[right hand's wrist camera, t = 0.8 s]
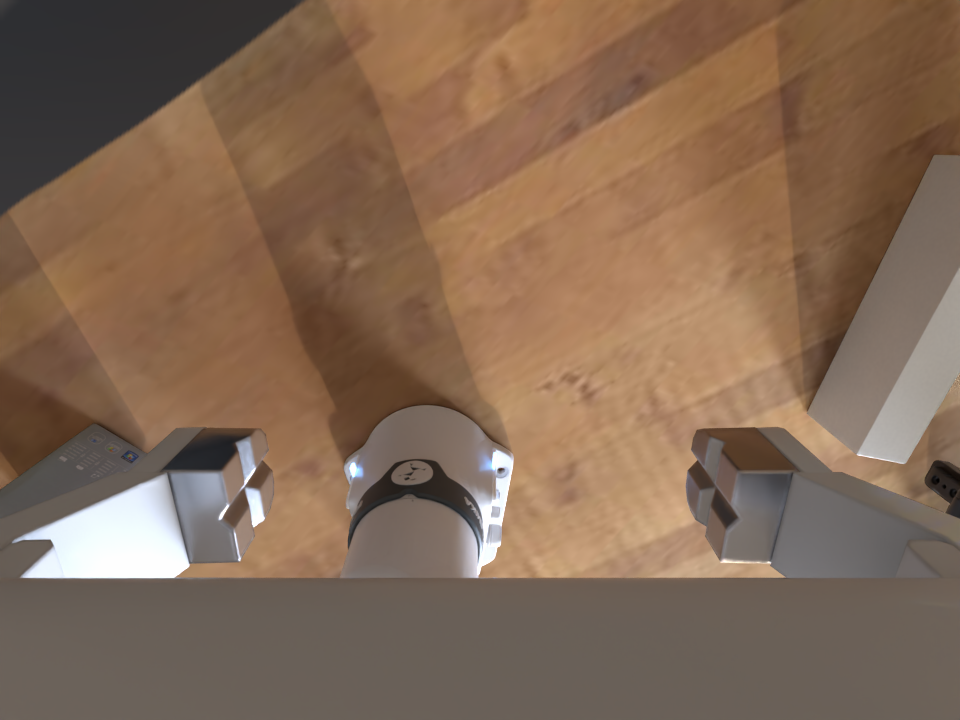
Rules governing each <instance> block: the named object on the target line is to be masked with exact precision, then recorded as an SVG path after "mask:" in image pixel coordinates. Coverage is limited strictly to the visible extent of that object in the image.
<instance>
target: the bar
mask: <svg viewBox="0 0 960 720" xmlns="http://www.w3.org/2000/svg"><path fill="white" fill-rule="evenodd" d="M959 373H960V155H934V156H933V158H932V160H931V162H930V164H929V166H928V168H927V170H926V172H925V174H924V176H923V178H922V180H921V182H920V184H919V186H918V188H917V191H916V193H915V195H914V197H913V199H912V201H911V203H910V205H909V207H908V209H907V211H906V213H905V215H904V217H903V219H902V221H901V223H900V225H899V227H898V229H897V231H896V233H895V235H894V237H893V239H892V241H891V243H890V245H889V247H888V249H887V251H886V253H885V255H884V257H883V259H882V261H881V264H880V266H879V268H878V270H877V272H876V274H875V276H874V278H873V280H872V282H871V284H870V286H869V288H868V290H867V292H866V294H865V296H864V298H863V300H862V302H861V304H860V306H859V308H858V310H857V312H856V314H855V316H854V318H853V320H852V322H851V324H850V326H849V328H848V330H847V332H846V334H845V337H844V339H843V341H842V343H841V345H840V347H839V349H838V351H837V353H836V355H835V357H834V359H833V361H832V363H831V365H830V367H829V369H828V371H827V373H826V375H825V377H824V379H823V381H822V383H821V385H820V387H819V389H818V391H817V393H816V395H815V397H814V399H813V401H812V403H811V405H810V407H809V410H808V412H807V414H808V415H809V416H810V417H811V418H813V419H814V420H815V421H816V422H817V423H819V424H820V425H821V426H822V427H823V428H825V429H826V430H827V431H828V432H830V433H831V434H832V435H833V436H834V437H836V438H837V439H838V440H839V441H841V442H842V443H843V444H844V445H845V446H847V447H848V448H849V449H850V450H851V451H853V452H854V453H855V454H856V455H861V456H866V457H872V458H877V459H882V460H887V461H892V462H898V463H903V464H905V463H906V462H907V460H908V458H909V457H910V455H911V453H912V452H913V450H914V448H915V447H916V445H917V443H918V442H919V440H920V438H921V437H922V435H923V433H924V431H925V430H926V428H927V426H928V425H929V423H930V421H931V420H932V418H933V416H934V415H935V413H936V411H937V410H938V408H939V406H940V405H941V403H942V401H943V399H944V398H945V396H946V394H947V393H948V391H949V389H950V388H951V386H952V384H953V383H954V381H955V379H956V378H957V376H958V374H959Z"/></svg>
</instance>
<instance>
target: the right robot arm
mask: <svg viewBox="0 0 960 720" xmlns="http://www.w3.org/2000/svg"><path fill="white" fill-rule="evenodd" d="M268 450H269V448H268V443H267V438H266V434H265V433H264V432H263V430H262V429H258V428H207V427H188V428H176V429H175V430H174V431H173V432H172V433H170V434H169V435H168V436H167V437H166V438H165V439H164V440H163V441H161V442H160V443H159V444H158V445H157V446H156V447H155V448H154V449H152V450H151V451H150V452H149V453H148V454H147V455H146V456H145V457H143V458H142V459H141V460H140V461H139V462H138V463H137V464H136V465H135V466H133V467H132V468H131V469H130V470H129V471H128V472H117V473H115V474H112V475H110V476H107V477H105V478H102V479H100V480H97V481H95V482H92V483H89V484H87V485H84V486H82V487H79V488H77V489H74V490H72V491H69V492H67V493H64V494H61V495H59V496H56V497H54V498H51V499H49V500H46V501H44V502H41V503H39V504H36V505H33V506H31V507H28V508H26V509H23V510H21V511H18V512H16V513H13V514H11V515H8V516H5V517H3V518H0V720H960V519H959V518H957V517H954V516H952V515H949V514H947V513H944V512H942V511H939V510H936V509H934V508H931V507H929V506H926V505H924V504H921V503H919V502H916V501H914V500H911V499H909V498H906V497H904V496H901V495H898V494H896V493H893V492H891V491H888V490H886V489H883V488H881V487H878V486H876V485H873V484H871V483H868V482H865V481H863V480H860V479H858V478H855V477H853V476H850V475H848V474H845V473H843V472H832V471H831V470H830V469H829V468H828V467H827V466H826V465H824V464H823V463H822V462H821V461H820V460H819V459H818V458H817V457H815V456H814V455H813V454H812V453H811V452H810V451H809V450H808V449H807V448H805V447H804V446H803V445H802V444H801V443H800V442H799V441H798V440H796V439H795V438H794V437H793V436H792V435H791V434H790V433H789V432H788V431H786V430H785V429H783V428H780V427H763V428H755V427H750V428H708V429H699V430H697V431H696V433H695V435H694V437H693V442H692V448H691V450H692V452H693V454H694V455H695V457H696V458H697V461H696V462H695V463H694V464H693V465H692V467H691V468H690V469H689V470H688V473H687V480H686V493H687V501H688V505H689V508H690V511H691V513H692V514H693V516H694V518H695V520H697V521H698V522H700V523H702V524H703V525H705V526H706V527H707V529H706V534H705V537H706V538H707V540H708V542H709V543H710V545H711V547H712V548H713V550H714V552H715V553H716V555H717V557H718V558H719V560H720V562H731V563H768V564H771V565H770V566H771V567H773V568H774V569H776V570H777V571H778V572H780V573H781V574H782V575H784V576H785V577H786V578H478V575H479V573H480V569H481V566H483V565H485V564H487V563H489V562H490V561H492V560H493V559H494V558H495V555H496V550H497V547H498V546H500V544H501V533H502V528H501V524H502V519H503V514H504V509H505V504H506V498H507V493H508V488H509V483H510V478H511V472H512V467H513V454H512V453H511V452H510V451H509V450H508V449H506V448H505V447H503V446H501V445H499V444H497V443H495V442H493V441H492V440H490V439H489V438H488V437H487V436H486V434H485V433H484V432H483V431H482V430H481V429H480V427H479V426H478V425H477V424H476V423H474V422H473V421H472V420H471V419H469V418H468V417H466V416H465V415H463V414H461V413H459V412H457V411H455V410H452V409H449V408H445V407H441V406H434V405H419V406H412V407H408V408H404V409H402V410H399V411H397V412H395V413H393V414H391V415H389V416H388V417H386V418H385V419H384V420H382V421H381V422H380V423H379V424H378V425H377V426H376V427H375V429H374V430H373V431H372V433H371V435H370V436H369V438H368V440H367V442H366V443H365V444H364V446H363V447H362V448H360V449H359V450H357V451H356V452H354V453H353V454H351V455H350V456H349V457H348V458H347V459H346V461H345V464H344V472H345V475H346V477H347V480H348V482H349V484H350V487H349V491H348V495H347V499H346V508H348V509H349V510H350V513H351V516H352V520H351V523H350V528H349V536H348V553H347V556H346V559H345V562H344V565H343V568H342V571H341V575H340V578H174V577H175V576H177V575H178V574H179V573H181V572H182V571H183V570H185V569H186V568H187V567H189V564H192V563H228V562H240V560H241V559H242V557H243V555H244V554H245V552H246V550H247V549H248V547H249V545H250V543H251V542H252V540H253V538H254V537H255V534H254V529H253V527H254V526H255V525H257V524H258V523H260V522H262V521H263V520H265V518H266V516H267V514H268V512H269V511H270V508H271V504H272V500H273V496H274V479H273V472H272V470H271V469H270V468H269V467H268V465H267V464H266V463H265V462H264V461H263V458H264V457H265V455H266V454H267V452H268ZM498 468H504V470H498Z"/></svg>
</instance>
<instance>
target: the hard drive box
mask: <svg viewBox="0 0 960 720" xmlns="http://www.w3.org/2000/svg"><path fill="white" fill-rule="evenodd" d="M146 455H147V453H145V452H143V451H141V450H140V449H138V448H136V447H135V446H133V445H131V444H129V443H128V442H126V441H124V440H123V439H121V438H119V437H118V436H116V435H114V434H112V433H111V432H109V431H107V430H106V429H104V428H102V427H101V426H99V425H97V424H95V423H94V424H92V425H90V426H89V427H87V428H86V429H85V430H83V431H82V432H80V433H79V434H77V435H76V436H75V437H73V438H72V439H70V440H69V441H67V442H66V443H65V444H63V445H62V446H60V447H59V448H58V449H56V450H55V451H54V452H52V453H51V454H49V455H48V456H47V457H45V458H44V459H42V460H41V461H40V462H38V463H37V464H35V465H34V466H33V467H31V468H30V469H28V470H27V471H26V472H24V473H23V474H21V475H20V476H19V477H17V478H16V479H14V480H13V481H12V482H10V483H9V484H7V485H6V486H5V487H3V488H2V489H1V490H0V518H3V517H5V516H8V515H11V514H13V513H16V512H18V511H21V510H23V509H26V508H28V507H31V506H33V505H36V504H39V503H41V502H44V501H46V500H49V499H51V498H54V497H56V496H59V495H61V494H64V493H67V492H69V491H72V490H74V489H77V488H79V487H82V486H84V485H87V484H89V483H92V482H95V481H97V480H100V479H102V478H105V477H107V476H110V475H112V474H115V473H117V472H128V471H129V470H130V469H131V468H132V467H133V466H135V465H136V464H137V463H138V462H139V461H140V460H141V459H142V458H143V457H145V456H146Z"/></svg>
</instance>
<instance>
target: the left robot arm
mask: <svg viewBox="0 0 960 720" xmlns="http://www.w3.org/2000/svg"><path fill="white" fill-rule="evenodd" d="M925 484H926V485H927V486H928V487H929V488H930V489H932V490H933V491H934V492H936V493H937V494H938V495H940V496H941V497H942V498H944V499H945V500H946V501H948V502H949V503H950V506H949V507H948V509H947V511H946V512H945V513H947V514H949V515H952V516H954V517H957V518H959V519H960V469H959V468H957V467H956V466H954V465H953V464H951V463H950V462H946V461H939V460H937V461H935V462H934V463H933V464H932V466H931V468H930V470H929V471H928V473H927V475H926V477H925Z"/></svg>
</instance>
